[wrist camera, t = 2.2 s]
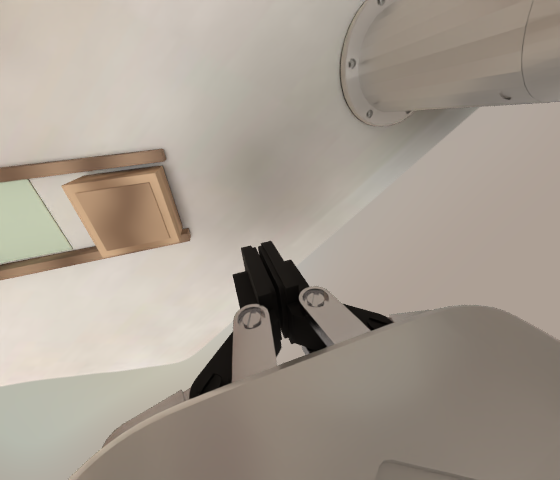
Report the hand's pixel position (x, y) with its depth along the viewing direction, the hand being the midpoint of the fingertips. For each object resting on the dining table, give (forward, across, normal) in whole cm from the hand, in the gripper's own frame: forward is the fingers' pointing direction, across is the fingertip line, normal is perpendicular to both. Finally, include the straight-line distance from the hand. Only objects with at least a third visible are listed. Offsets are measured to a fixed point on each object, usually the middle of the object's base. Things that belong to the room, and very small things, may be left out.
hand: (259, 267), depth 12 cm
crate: (+16, +9, 0) cm, 19 cm away
